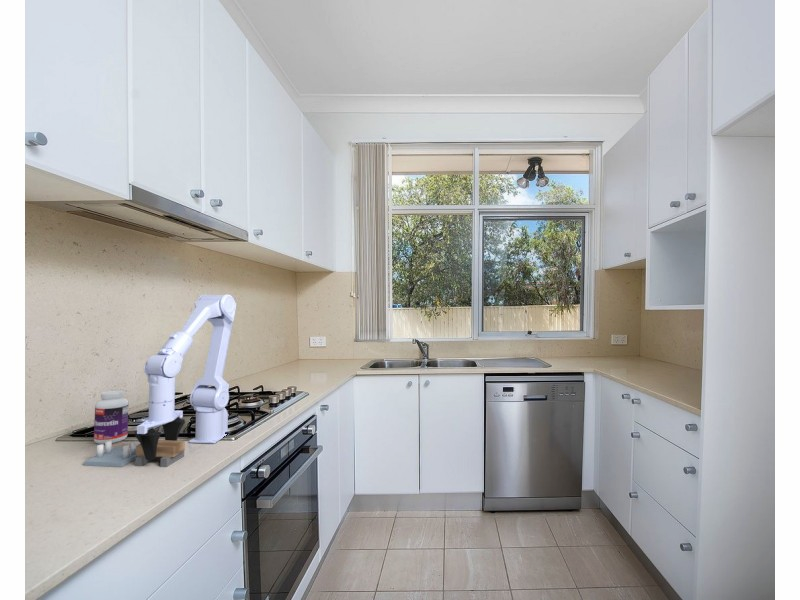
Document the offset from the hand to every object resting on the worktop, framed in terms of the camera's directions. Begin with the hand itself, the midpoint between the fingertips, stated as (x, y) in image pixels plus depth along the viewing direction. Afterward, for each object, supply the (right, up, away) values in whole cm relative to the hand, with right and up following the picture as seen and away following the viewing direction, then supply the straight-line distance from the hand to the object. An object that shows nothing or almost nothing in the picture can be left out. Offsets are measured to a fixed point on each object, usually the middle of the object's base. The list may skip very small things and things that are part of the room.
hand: (160, 453), depth 100 cm
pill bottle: (-24, -2, +15) cm, 28 cm away
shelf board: (0, 0, 0) cm, 0 cm away
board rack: (0, -2, 0) cm, 2 cm away
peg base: (-12, -2, +1) cm, 12 cm away
